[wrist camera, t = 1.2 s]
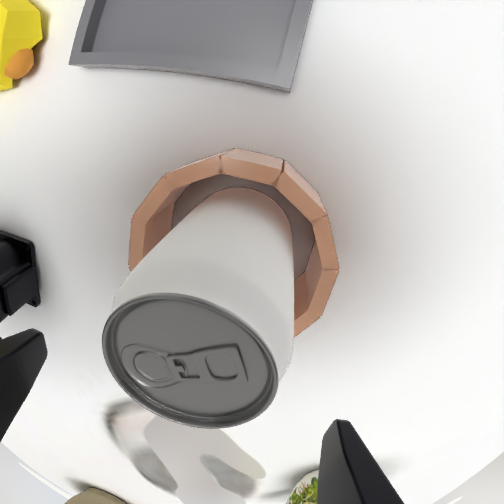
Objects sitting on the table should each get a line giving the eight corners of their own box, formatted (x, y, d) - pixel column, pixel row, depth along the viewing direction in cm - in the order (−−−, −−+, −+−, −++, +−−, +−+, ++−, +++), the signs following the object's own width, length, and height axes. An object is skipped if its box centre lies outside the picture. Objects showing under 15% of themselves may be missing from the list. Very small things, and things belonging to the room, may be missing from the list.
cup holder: (153, 286, 22) (126, 321, 18) (173, 135, 18) (141, 140, 14) (298, 325, 22) (298, 368, 18) (348, 177, 18) (365, 194, 14)
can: (178, 197, 19) (58, 292, 8) (282, 176, 18) (271, 261, 7) (205, 289, 22) (139, 431, 11) (300, 275, 21) (305, 432, 10)
